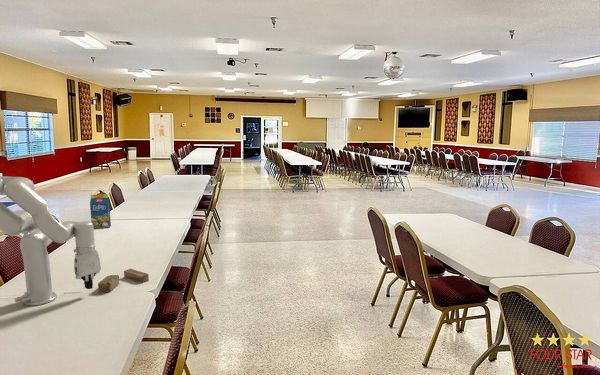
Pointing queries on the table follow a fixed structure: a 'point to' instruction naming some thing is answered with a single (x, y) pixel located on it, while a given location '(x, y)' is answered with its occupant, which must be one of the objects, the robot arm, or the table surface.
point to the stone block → (108, 283)
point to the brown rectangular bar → (136, 275)
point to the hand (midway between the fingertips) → (88, 288)
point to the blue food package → (100, 211)
